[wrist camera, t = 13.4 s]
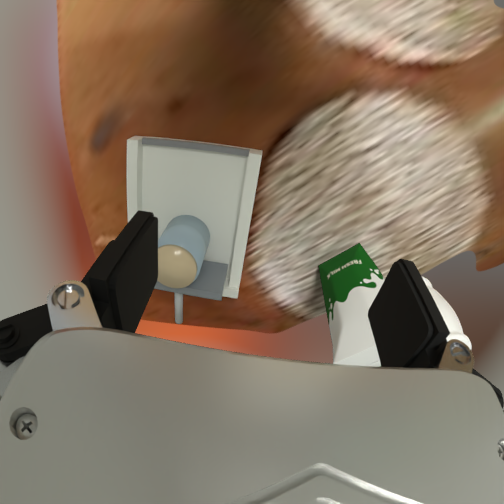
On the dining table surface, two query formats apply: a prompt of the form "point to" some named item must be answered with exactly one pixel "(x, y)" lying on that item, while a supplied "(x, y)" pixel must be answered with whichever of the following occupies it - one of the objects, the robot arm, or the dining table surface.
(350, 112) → the dining table surface
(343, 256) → the milk carton
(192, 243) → the glazed jar
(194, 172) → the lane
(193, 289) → the pusher
